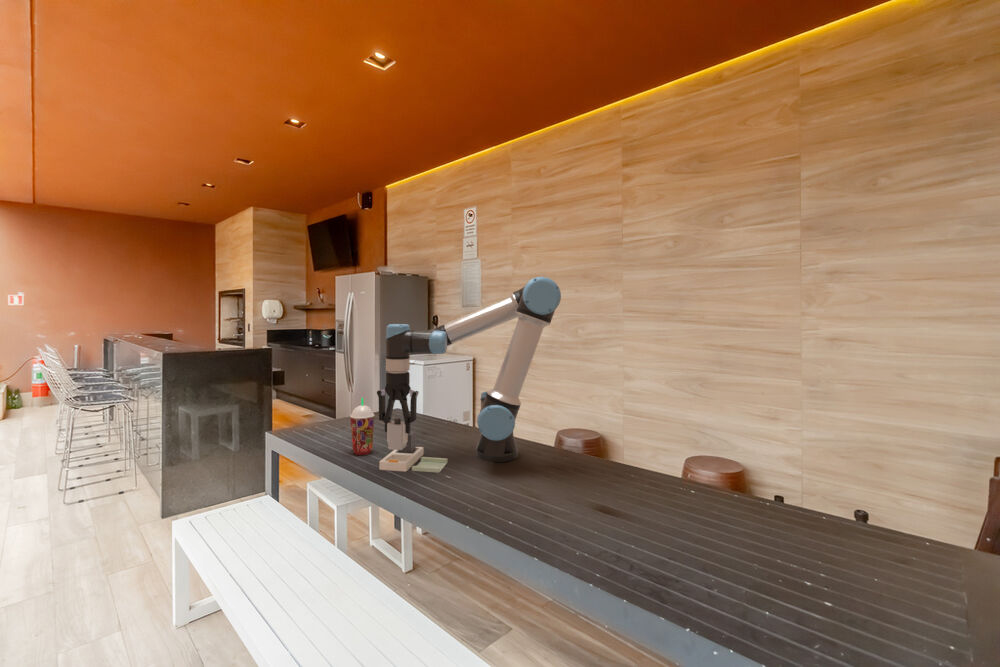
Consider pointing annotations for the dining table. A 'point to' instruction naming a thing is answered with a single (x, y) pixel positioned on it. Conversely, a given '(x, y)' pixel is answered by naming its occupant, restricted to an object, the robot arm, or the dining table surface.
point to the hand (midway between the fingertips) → (397, 442)
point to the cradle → (430, 464)
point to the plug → (396, 435)
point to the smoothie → (362, 429)
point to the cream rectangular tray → (403, 456)
